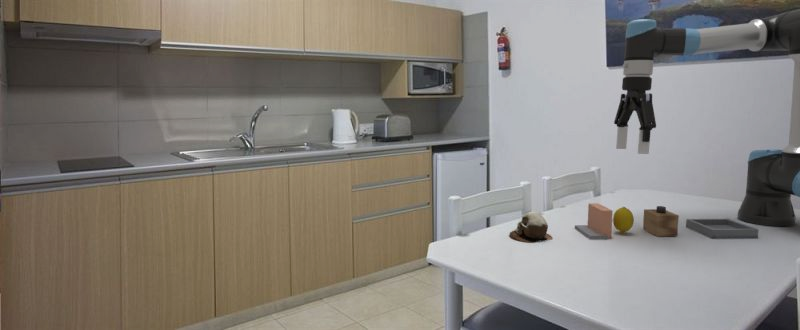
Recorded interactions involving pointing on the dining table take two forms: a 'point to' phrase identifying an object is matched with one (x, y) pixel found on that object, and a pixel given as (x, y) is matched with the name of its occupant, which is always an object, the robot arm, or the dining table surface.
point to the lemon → (623, 219)
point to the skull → (531, 228)
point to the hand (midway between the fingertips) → (631, 151)
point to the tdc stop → (597, 222)
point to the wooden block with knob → (660, 222)
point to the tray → (721, 228)
